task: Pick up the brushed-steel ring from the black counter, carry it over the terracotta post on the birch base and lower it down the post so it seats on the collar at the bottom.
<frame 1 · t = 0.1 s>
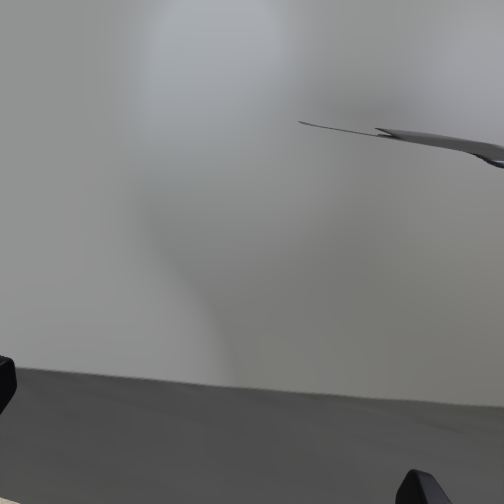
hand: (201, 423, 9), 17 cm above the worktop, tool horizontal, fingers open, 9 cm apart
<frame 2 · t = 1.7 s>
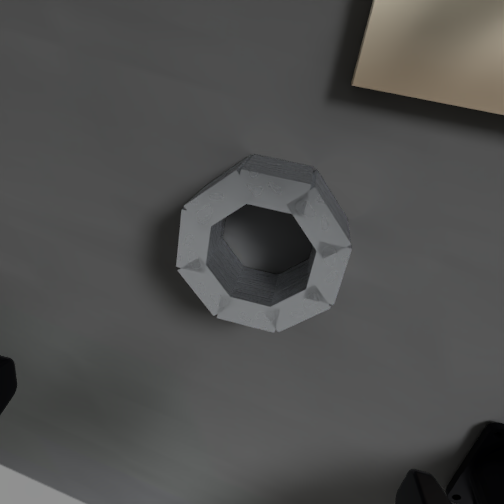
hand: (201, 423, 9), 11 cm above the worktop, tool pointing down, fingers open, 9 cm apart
ring: (268, 231, 19), on the worktop
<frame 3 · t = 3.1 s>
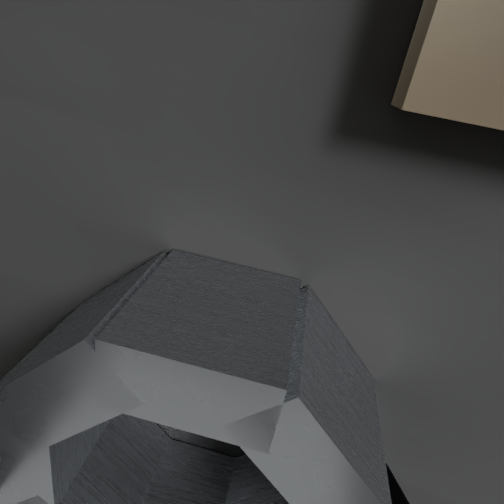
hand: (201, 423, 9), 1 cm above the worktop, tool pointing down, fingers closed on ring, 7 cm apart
ring: (213, 389, 9), on the worktop, touching gripper
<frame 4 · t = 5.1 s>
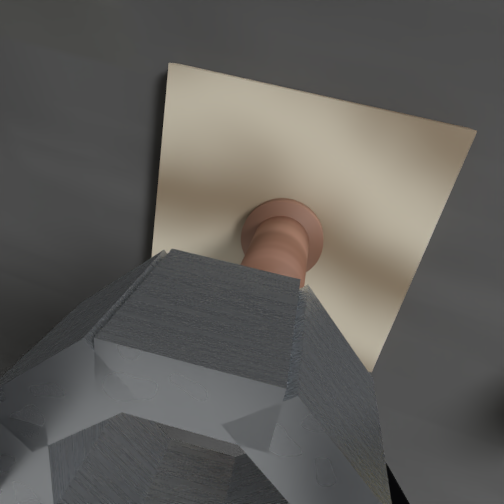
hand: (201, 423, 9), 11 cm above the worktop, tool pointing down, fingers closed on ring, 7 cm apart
ring: (213, 388, 9), point 10 cm above the worktop, touching gripper
post stand: (284, 229, 18), on the worktop
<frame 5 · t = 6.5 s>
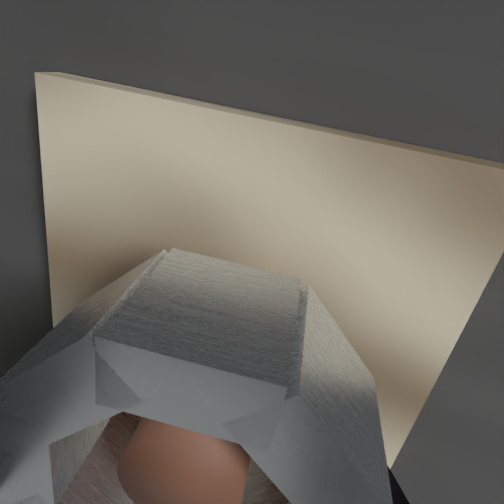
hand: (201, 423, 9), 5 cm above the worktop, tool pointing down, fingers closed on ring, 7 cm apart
ring: (214, 387, 9), point 3 cm above the worktop, touching gripper
post stand: (241, 309, 13), on the worktop
when the fingers open (4 cm above the worktop, at t = 7.3 s): ring drops 2 cm, resting on post stand.
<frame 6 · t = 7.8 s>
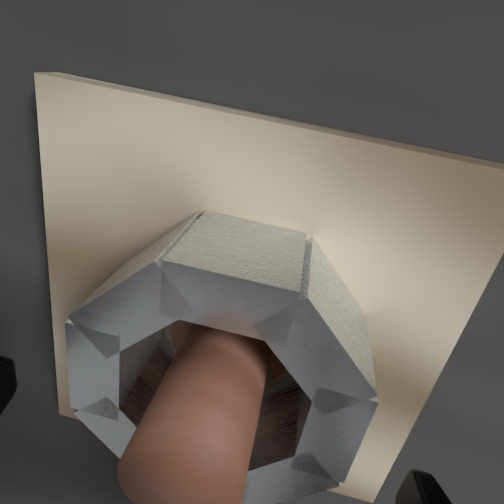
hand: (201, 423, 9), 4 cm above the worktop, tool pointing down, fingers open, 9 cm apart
ring: (236, 328, 12), point 1 cm above the worktop, touching post stand
post stand: (241, 309, 13), on the worktop
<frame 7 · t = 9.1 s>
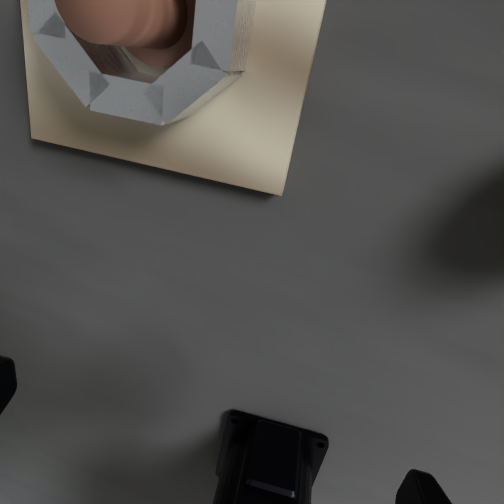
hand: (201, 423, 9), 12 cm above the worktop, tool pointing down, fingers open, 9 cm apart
ring: (163, 14, 15), point 1 cm above the worktop, touching post stand
post stand: (171, 17, 16), on the worktop
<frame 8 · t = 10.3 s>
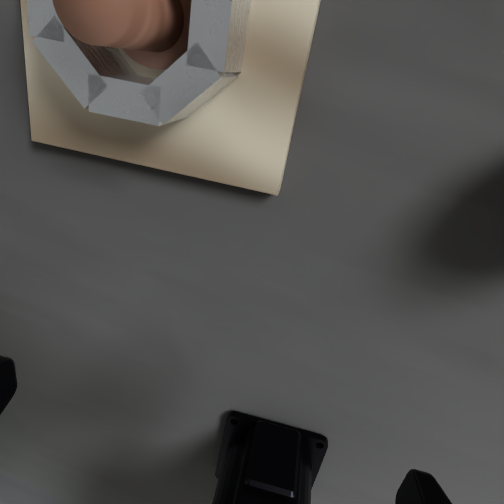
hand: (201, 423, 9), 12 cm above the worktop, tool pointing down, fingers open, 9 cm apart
ring: (160, 18, 15), point 1 cm above the worktop, touching post stand
post stand: (169, 21, 16), on the worktop
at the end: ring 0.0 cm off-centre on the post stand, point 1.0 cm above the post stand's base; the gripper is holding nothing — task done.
